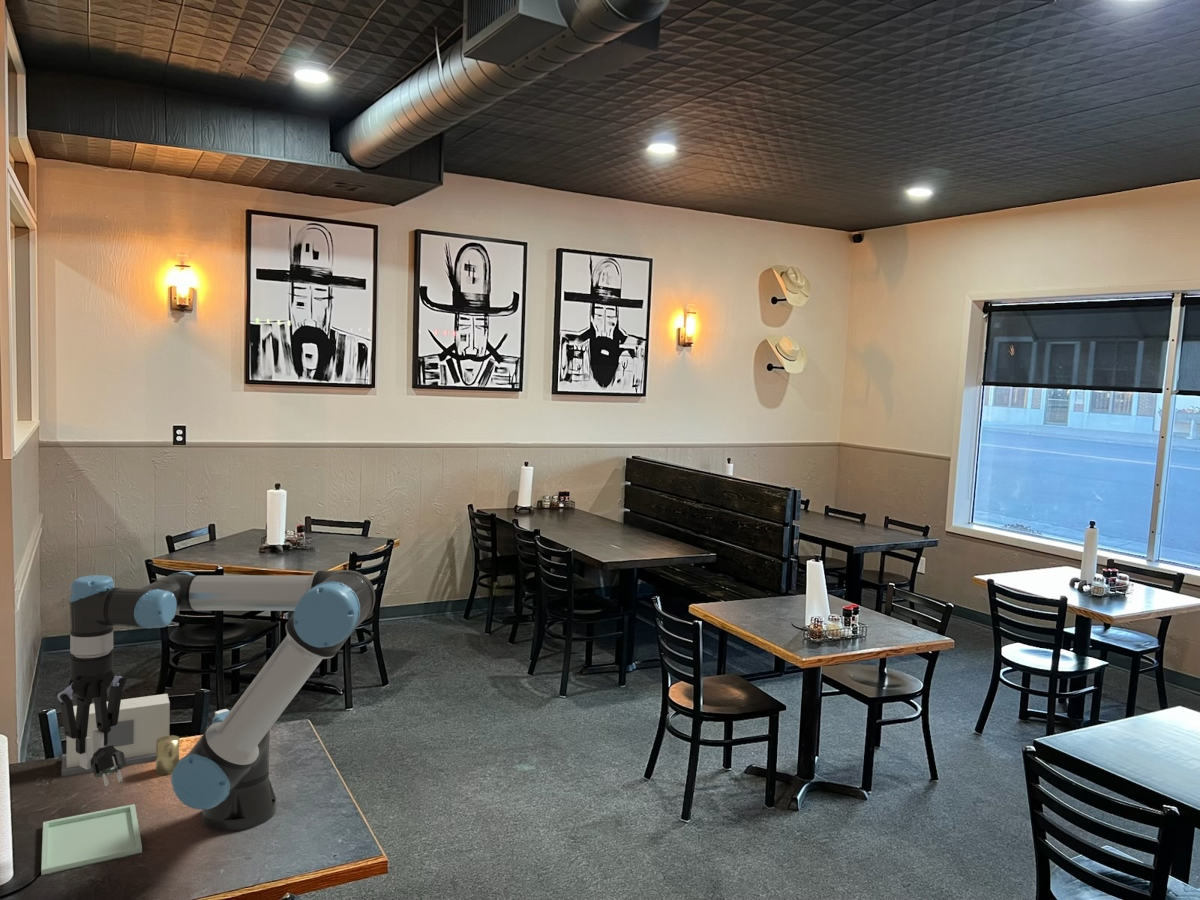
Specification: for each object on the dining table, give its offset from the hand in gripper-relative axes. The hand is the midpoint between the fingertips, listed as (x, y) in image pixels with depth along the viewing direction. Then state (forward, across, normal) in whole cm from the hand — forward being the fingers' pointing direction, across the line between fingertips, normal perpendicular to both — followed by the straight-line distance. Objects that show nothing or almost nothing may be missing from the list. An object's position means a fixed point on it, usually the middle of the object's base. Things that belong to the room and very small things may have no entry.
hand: (91, 764), depth 174 cm
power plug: (+4, 0, 0) cm, 4 cm away
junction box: (+16, -24, -32) cm, 43 cm away
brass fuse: (+16, -27, -17) cm, 36 cm away
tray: (+16, 0, 0) cm, 16 cm away
